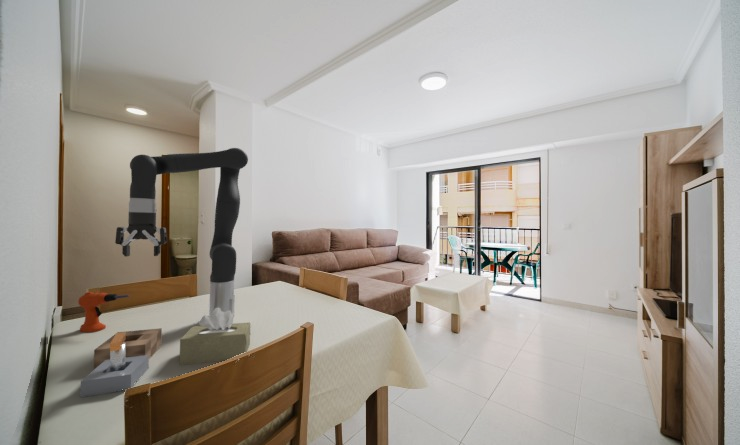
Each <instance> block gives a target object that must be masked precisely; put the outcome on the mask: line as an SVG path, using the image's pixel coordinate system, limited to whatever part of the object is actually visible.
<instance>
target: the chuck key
mask: <svg viewBox="0 0 740 445" xmlns="http://www.w3.org/2000/svg"><path fill="white" fill-rule="evenodd" d="M122 332H123V333H118V332H116V333H117V334H116V333H115V334H114V335H115V336H114V335H113V336H114V338H113V340H112V341H111V343H110V372H114V371H122V370H125V361H126V343H125V342H124V341H125V339H126V331H122Z"/></svg>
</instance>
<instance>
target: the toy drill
mask: <svg viewBox="0 0 740 445" xmlns="http://www.w3.org/2000/svg"><path fill="white" fill-rule="evenodd" d="M129 297H130V294H120V295H119V294H116V293H107V292H92V291H87V292H86V293H84V294H83V295H81V296H80V297H79V299H78V302H77V303H78V305H79V306H80V307H81V308H83V309H84V315H85V317H84V322H83V324H81V325H80V327H79V332H83V333H94V332H95V333H96V332H99V331H103V330H105V329H106V327H107V326H106V324H104V323H102V322H100V316H101V315H102V314H103V313H102V312H101V310H100V308H99V306H101V305H104V304H106V303H109V302H113V301H116V300H118V299H122V298H129Z"/></svg>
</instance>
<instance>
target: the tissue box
mask: <svg viewBox="0 0 740 445" xmlns="http://www.w3.org/2000/svg"><path fill="white" fill-rule="evenodd" d="M234 317H235V314H234V315H233V314H232V313H231V311H229V310H228V311H226V312H222V311H221V309H220V308H215V309H214V310H213V312H212V313H211V315H209V314H208V315H207V314H206V315H203V316H202V317H201V319H200V320H199V321H197V323H198V325H196V326H193V325H192V326H191V327H190V328H189V330H188V331H187V332H186V333H184V335H183V336H182V337H181V338H180V339H179V340H180V341H179V365H181V366H183V365H190V364H191V365H192V364H200V363H201V362H203V363H211V362H212V363H213V362H220V361H227V360H226V359H229V358H232V357H234V356H236V355H239V354H241V353H244V352H247V353H248V350H249V347H250V344H251V323H250V322H239V323H238V322H237V323H233V322H234ZM201 364H202V363H201Z"/></svg>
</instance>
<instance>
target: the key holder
mask: <svg viewBox="0 0 740 445" xmlns="http://www.w3.org/2000/svg"><path fill="white" fill-rule="evenodd" d="M149 360H150V359H149V355H144V356H135V357H127V358H126V361H125V370H122V371H114V372H110V360H105V361H104V362H103V363H101V364H100V365H99V366H98V367H97V368H96V369H94V368H93V370H92V371H91V372H89V374H87V375H86V376H85V377H83V379H81V380H80V395H79V396H80V398H83V397H90V396H91V397H92V396H98V395H102V394H105V395H106V394H110V393H111V394H112V393H117V392H116V391H118V392H122V391H121V390H122V389H123V391H126V390H125V389H128V388H131V387H135V385H134V383H135V382H136V381H137V380H138V381H139V380H140V379H141V378H142V377H143V376H144V374H145V373H146V372H147V371H148V369H149V368H150V367H149V366H150V365H149V363H150V361H149ZM141 376H142V377H141ZM140 377H141V378H140ZM139 378H140V379H139Z"/></svg>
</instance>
